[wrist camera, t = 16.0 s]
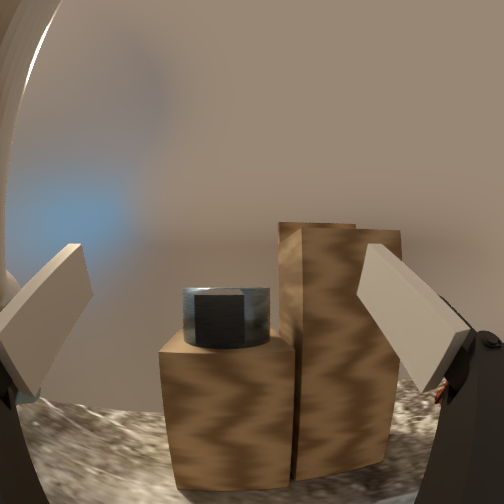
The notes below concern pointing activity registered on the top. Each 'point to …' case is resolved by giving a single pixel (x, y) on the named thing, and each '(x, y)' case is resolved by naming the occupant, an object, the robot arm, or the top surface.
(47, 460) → the top surface
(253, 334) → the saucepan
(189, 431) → the pine stand
